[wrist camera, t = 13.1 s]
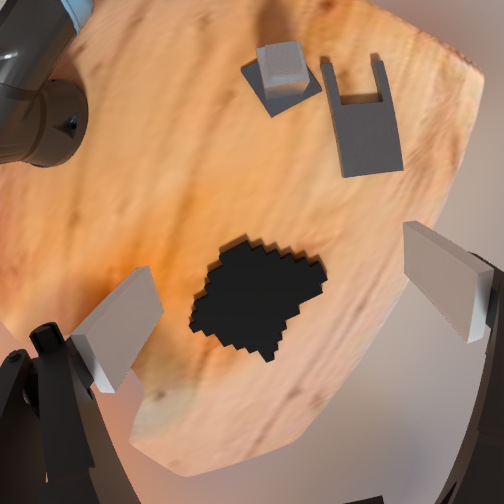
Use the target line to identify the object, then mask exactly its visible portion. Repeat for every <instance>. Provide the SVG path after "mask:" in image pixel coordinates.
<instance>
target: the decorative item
mask: <svg viewBox="0 0 504 504" xmlns="http://www.w3.org/2000/svg"><path fill="white" fill-rule="evenodd" d="M219 259H220V260H221V262H222V264H223V265H221V266H219V267H218V268H216V269H214V270H212V271H210V272H208V274H207V277H208V278H209V280H210V281H211V282H210V283H208V284H206V285H205V286H204V289H205V291H206V292H207V295H205V296H203V297H201V298H199V299H197V300H195V301H194V303H193V305H194V306H195V307H196V309H197V310H195V311H193V312H192V314H191V316H192V318H193V319H194V321H193V322H190V324H189V327H190V329H191V330H192V331H193V333H195V332H198V331H200V330H202V331H203V333H204V334H205V336H206V337H207V336H210V335H212V334H215V335H216V337H217V338H218V339H219V341H220V342H221V343H222V345H223V346H224V347H226V346H228V345H231V344H233V346H234V347H235V349H236V350H239V349H242V348H244V347H245V348H246V349H247V351H248V352H249V354H250V353H252V352H255V351H257V350H258V352H259V353H260V354H261V356H262V357H263V359H264V360H265V362H266V363H267V362H270V361H272V360H274V354H273V353H272V352H275V351H277V350H278V345H277V343H276V342H278V341H281V340H283V339H282V335H281V333H280V332H281V331H284V330H286V329H287V325H286V324H285V322H284V321H285V320H288V319H290V318H292V317H294V316H296V315H298V314H300V310H299V309H298V307H297V305H299V304H301V303H303V302H305V301H307V300H309V299H311V298H314V297H316V296H318V295H320V294H322V293H323V291H322V289H321V287H320V285H319V284H321V283H323V282H325V281H327V280H328V279H327V277H326V275H325V273H324V271H323V269H322V267H321V265H320V263H319V261H316V262H314V263H312V264H310V265H309V264H308V262H307V260H306V258H305V257H303V258H301V259H299V260H297V261H295V260H294V258H293V256H292V255H291V253H288V254H286V255H285V256H283V257H281V256H280V255H279V253H278V251H277V249H274V250H272V251H270V252H268V253H266V251H265V250H264V248H263V246H262V244H261V245H259V246H257V247H256V248H254V249H252V248H251V246H250V245H249V243H248V241H245V242H243V243H241V244H239V245H237V246H235V247H233V248H232V249H230V250H228V251H226V252H224V253H222V254H220V255H219Z"/></svg>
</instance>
